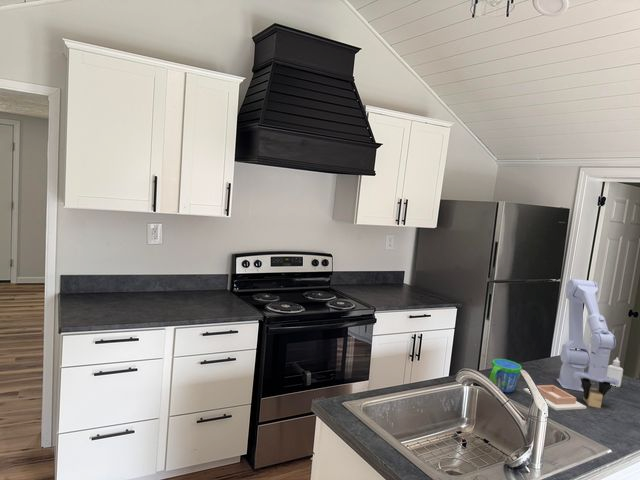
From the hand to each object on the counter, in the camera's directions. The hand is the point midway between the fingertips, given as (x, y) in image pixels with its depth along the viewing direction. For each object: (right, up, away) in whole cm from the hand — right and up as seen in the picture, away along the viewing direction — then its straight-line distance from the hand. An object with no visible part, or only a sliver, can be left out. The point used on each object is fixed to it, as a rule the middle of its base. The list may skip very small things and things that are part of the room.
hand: (592, 399), depth 172 cm
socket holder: (-14, 0, 0) cm, 14 cm away
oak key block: (0, -2, 0) cm, 2 cm away
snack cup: (-32, +2, +5) cm, 32 cm away
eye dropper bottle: (+22, -2, +23) cm, 32 cm away
